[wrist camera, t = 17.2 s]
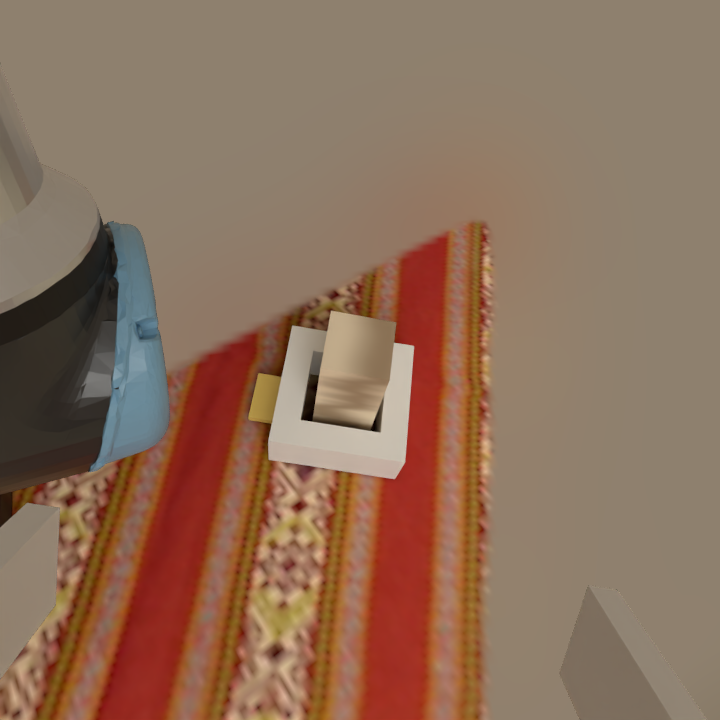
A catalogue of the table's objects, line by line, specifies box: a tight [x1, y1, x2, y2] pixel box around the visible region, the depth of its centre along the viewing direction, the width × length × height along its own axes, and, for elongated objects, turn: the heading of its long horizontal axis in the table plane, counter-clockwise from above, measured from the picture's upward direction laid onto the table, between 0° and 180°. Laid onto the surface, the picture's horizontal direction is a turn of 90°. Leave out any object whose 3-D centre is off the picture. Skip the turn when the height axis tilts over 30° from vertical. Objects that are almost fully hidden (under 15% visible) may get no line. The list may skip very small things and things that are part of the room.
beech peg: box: [312, 311, 396, 431], centre depth 42 cm, size 4×4×11 cm
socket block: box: [248, 325, 414, 479], centre depth 45 cm, size 12×10×4 cm
